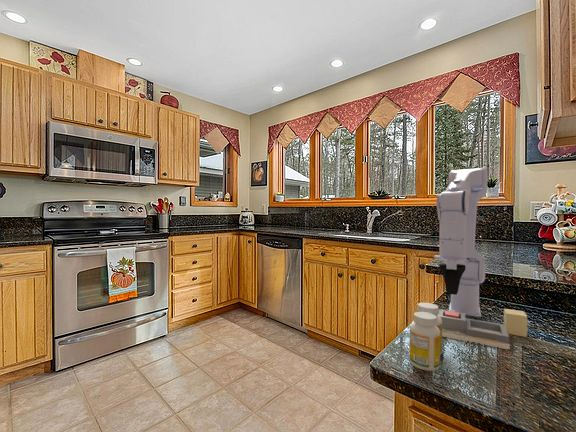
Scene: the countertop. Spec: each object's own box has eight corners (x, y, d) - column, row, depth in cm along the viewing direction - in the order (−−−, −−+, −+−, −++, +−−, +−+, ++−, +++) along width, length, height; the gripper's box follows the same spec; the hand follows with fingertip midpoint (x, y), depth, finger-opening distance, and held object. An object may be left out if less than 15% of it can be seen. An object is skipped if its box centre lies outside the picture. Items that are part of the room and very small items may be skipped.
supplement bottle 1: (445, 358, 57) (446, 310, 57) (417, 355, 58) (417, 308, 58) (437, 346, 62) (437, 302, 62) (411, 343, 63) (411, 300, 63)
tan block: (503, 327, 72) (503, 308, 72) (523, 331, 70) (523, 311, 70) (505, 333, 69) (506, 313, 69) (527, 337, 67) (527, 316, 67)
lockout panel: (436, 321, 76) (437, 306, 76) (503, 333, 69) (503, 317, 69) (433, 334, 68) (434, 318, 68) (509, 350, 60) (509, 331, 60)
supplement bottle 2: (416, 371, 52) (417, 320, 52) (404, 357, 57) (405, 310, 57) (446, 372, 52) (446, 320, 52) (431, 357, 57) (431, 310, 57)
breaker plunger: (445, 322, 72) (445, 310, 72) (458, 324, 71) (458, 312, 71) (444, 326, 70) (444, 314, 70) (458, 328, 68) (458, 316, 68)
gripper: (436, 236, 78) (436, 285, 79) (431, 240, 66) (431, 298, 66) (466, 237, 75) (466, 288, 75) (467, 242, 62) (467, 303, 62)
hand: (452, 293), depth 70 cm, fingers closed
